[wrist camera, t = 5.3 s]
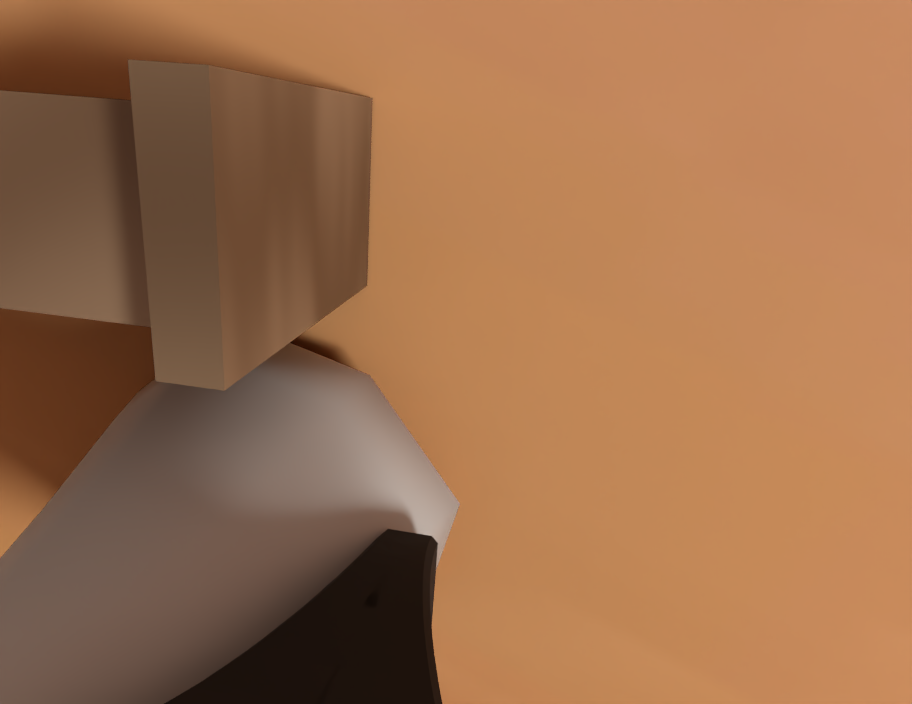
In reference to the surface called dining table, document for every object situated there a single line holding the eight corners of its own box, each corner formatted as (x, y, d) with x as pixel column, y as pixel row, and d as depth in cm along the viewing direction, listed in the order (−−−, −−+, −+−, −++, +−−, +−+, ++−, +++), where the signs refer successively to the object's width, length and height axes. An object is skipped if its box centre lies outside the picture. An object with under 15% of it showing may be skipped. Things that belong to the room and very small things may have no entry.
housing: (353, 764, 16) (257, 1048, 11) (-11, 687, 17) (-243, 907, 12) (372, 97, 11) (208, 64, 6) (-145, 60, 12) (-633, 7, 7)
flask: (86, 500, 15) (-871, 1091, 5) (223, 247, 12) (-1261, 560, 3) (333, 705, 14) (-221, 1699, 5) (531, 495, 12) (112, 1826, 2)
